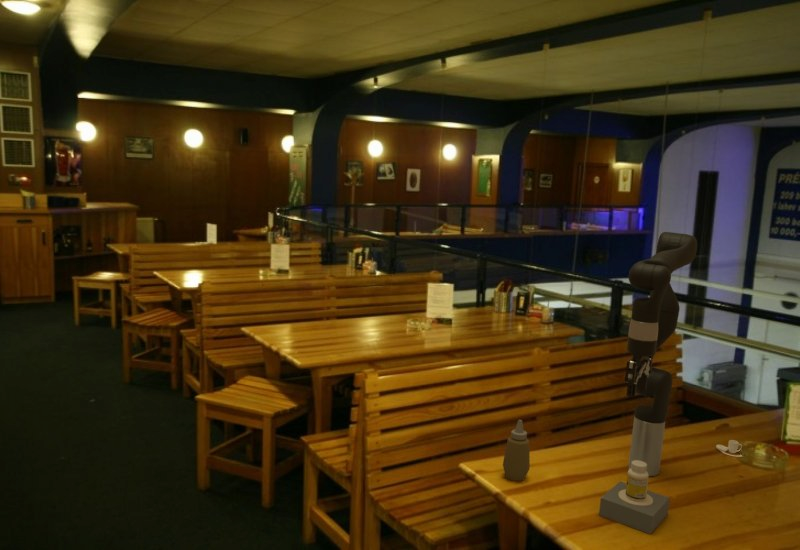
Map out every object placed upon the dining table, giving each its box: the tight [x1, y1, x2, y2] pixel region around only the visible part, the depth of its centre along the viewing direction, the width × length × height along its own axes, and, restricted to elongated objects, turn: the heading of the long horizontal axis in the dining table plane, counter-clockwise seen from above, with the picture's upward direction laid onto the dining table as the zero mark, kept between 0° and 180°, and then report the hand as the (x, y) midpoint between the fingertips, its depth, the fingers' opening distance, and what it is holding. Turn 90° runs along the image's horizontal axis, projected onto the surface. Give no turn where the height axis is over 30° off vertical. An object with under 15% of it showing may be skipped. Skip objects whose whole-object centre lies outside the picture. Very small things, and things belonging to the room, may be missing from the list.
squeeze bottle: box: [502, 419, 531, 482], centre depth 206 cm, size 8×8×18 cm
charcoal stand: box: [598, 480, 671, 535], centre depth 188 cm, size 14×14×5 cm
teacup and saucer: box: [715, 439, 744, 458], centre depth 236 cm, size 9×8×4 cm
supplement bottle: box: [626, 460, 650, 501], centre depth 186 cm, size 5×5×10 cm
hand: (636, 393), depth 191 cm, fingers open, 8 cm apart
